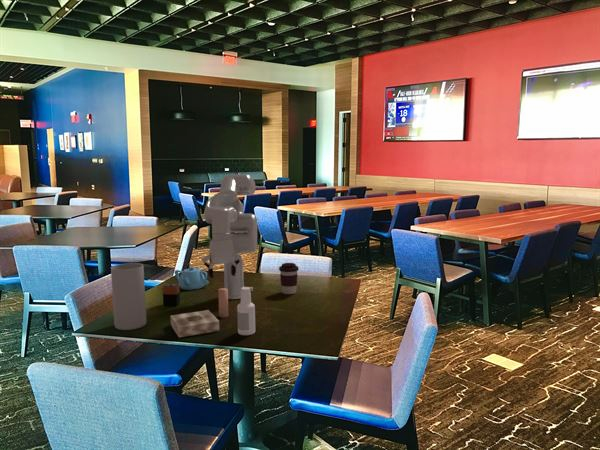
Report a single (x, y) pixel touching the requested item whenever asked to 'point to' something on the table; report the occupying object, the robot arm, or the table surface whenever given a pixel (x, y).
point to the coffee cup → (288, 277)
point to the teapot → (191, 278)
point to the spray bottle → (246, 313)
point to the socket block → (194, 323)
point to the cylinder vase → (128, 296)
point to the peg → (223, 302)
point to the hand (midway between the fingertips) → (222, 276)
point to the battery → (171, 295)
